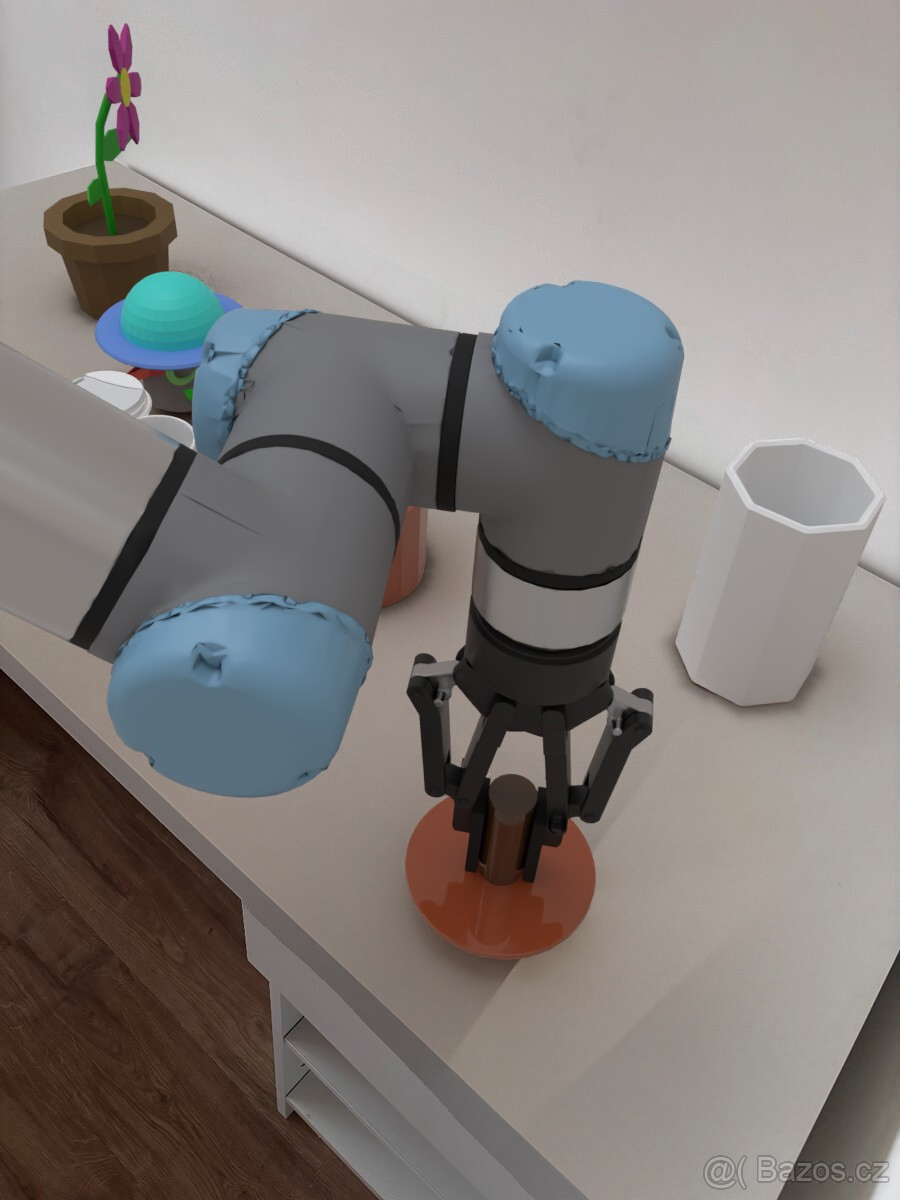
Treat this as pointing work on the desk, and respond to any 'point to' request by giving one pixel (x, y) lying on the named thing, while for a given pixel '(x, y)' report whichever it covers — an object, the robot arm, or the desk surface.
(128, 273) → the flowerpot
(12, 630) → the desk surface
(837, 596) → the cup
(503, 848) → the lid
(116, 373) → the paper cup
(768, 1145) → the desk surface
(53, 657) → the desk surface
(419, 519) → the jar
